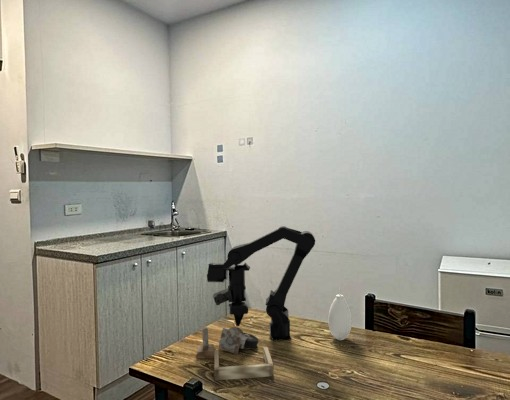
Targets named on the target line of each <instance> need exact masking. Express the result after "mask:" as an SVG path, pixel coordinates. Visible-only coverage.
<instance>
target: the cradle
mask: <svg viewBox="0 0 510 400" xmlns="http://www.w3.org/2000/svg"><path fill="white" fill-rule="evenodd" d="M262 351H263V359H264V362H265V363H262V364H261V363H260V364H248V365H247V364H246V365H245V364H244V365H231V366H220V363H219V362H220V360H219V359H220V357H219V349H214V357H213V358H214V381H224V380H225V381H226V380H241V379H250V378H251V379H253V378H265V377H266V378H267V377H274V376H275V372H274V371H275V369H274V367H275V366H274V363H273V360H272V357H271V353H270V351H269V348H268V346H263V350H262Z"/></svg>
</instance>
